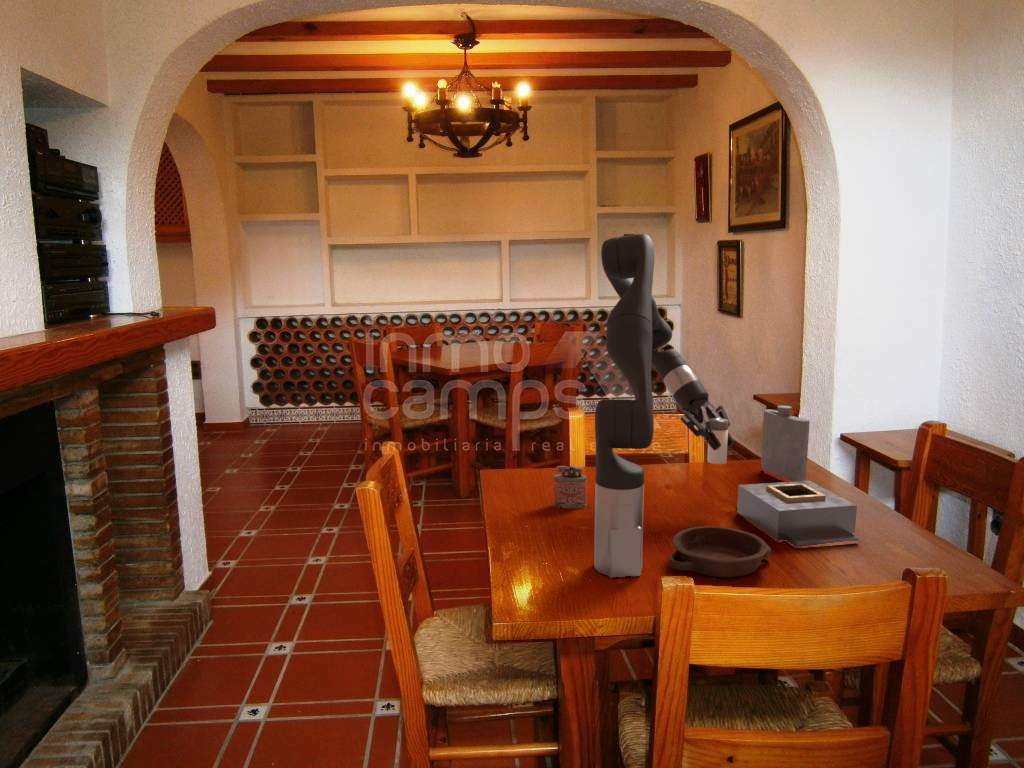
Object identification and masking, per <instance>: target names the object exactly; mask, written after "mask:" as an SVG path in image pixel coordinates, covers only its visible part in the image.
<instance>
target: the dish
mask: <svg viewBox="0 0 1024 768" xmlns="http://www.w3.org/2000/svg"><path fill="white" fill-rule="evenodd" d="M672 545H673V547H674V549H675V550H676V551H675V552H673V554H671V555H670V556H669V566H670V567H671V568H672V569H674V570H677V571H692V572H695V573H699V574H700V575H704V576H708V577H709V576H710V577H714V578H735V577H743V576H747V575H750V574H752V573H754V572H755V571H757V570H758V568H760V565H761V562H762V560H765V559H768V558H769V557H771V552H772V549H771V547H770V546H769V545H768V544H767V543H766V542H765V541H764V540H763V539H762V538H761V537H759V536H757V534H753V533H750V532H748V531H744V530H740V529H736V528H730V527H726V526H725V527H722V526H710V525H709V526H694V527H689V528H687V529H682V530H680V531H679V532H678V533H676V534H675V535H674V537H673V539H672Z"/></svg>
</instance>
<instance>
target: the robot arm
mask: <svg viewBox="0 0 1024 768" xmlns="http://www.w3.org/2000/svg"><path fill="white" fill-rule="evenodd" d="M654 248H655V247H654V243H653V240H652V238H651V237H650V236H649V235H648V234H646V233H636V234H635V233H634V234H629V235H624V236H616V237H611V238H608V239H606V240H604V241H603V243H602V244H601V250H600V251H601V252H600V256H601V265H602V269H603V271H604V274H605V276H606V278H607V279H608V281H609V282H610V284H611V286H612V288H613V289H614V291H615V292H616V294H617V295H618V297H619V300H618V301H617V303H616V304H615V305H614V307H613V308H612V310H611V311H610V313H609V315H608V318H607V322H606V333H605V334H606V336H605V337H606V338H605V346H606V347H605V348H606V351H607V353H608V356H609V357H610V359H611V360H612V363H614V365H615V367H617V369H618V370H619V371H620V373H622V375H623V376H624V378H625V380H627V382H628V384H629V387H630V389H631V391H632V392H633V396H634V399H623V398H622V399H621V398H620V399H615V398H609V399H607V398H605V399H604V398H603V399H601V400H599V401H598V402H597V404H596V407H595V411H594V434H595V476H594V477H595V479H594V480H595V482H594V485H595V486H594V487H595V492H594V493H595V495H594V543H593V544H594V545H593V546H594V549H593V550H594V551H593V552H594V554H593V555H594V557H593V558H594V559H593V562H594V564H593V567H594V569H595V570H596V571H597V572H598V573H600V574H602V575H604V574H605V575H604V576H607V575H608V577H610V578H609V579H616V578H615V577H619V578H626V577H625V576H631V577H640V575H641V576H642V570H643V545H644V544H643V543H644V542H643V539H644V538H643V537H644V503H645V502H644V500H645V499H644V498H645V496H644V495H645V471H644V469H643V467H642V466H640V465H638V464H637V463H634V462H631V461H629V460H626V459H624V458H623V457H621V456H619V455H618V454H617V453H616V452H614V449H624V450H627V449H629V450H631V449H632V450H643V449H644V450H645V449H647V448H649V447H650V446H651V445H652V442H653V440H654V439H653V438H654V432H655V431H654V429H655V426H654V425H655V424H654V421H655V420H654V404H653V390H652V389H653V388H652V387H653V386H652V367H653V368H654V369H655V371H656V372H657V374H658V375H659V377H660V379H661V380H662V381H663V383H664V386H665V387H666V389H667V391H668V392H669V394H670V396H671V397H672V398H673V400H674V401H675V403H676V404H677V407H679V409H680V411H681V412H682V413H684V414H682V416H681V417H680V421H681V422H682V423H683V424H684V425H685V426H686V428H688V429H689V431H691V433H692V434H694V436H696V437H697V438H698V437H702V438H703V439H705V441H706V442H707V444H708V443H709V445H710V446H711V447H712V449H713V450H717V449H718V448H719V447H721V443H720V442H719V440H718V439H717V437H716V436H715V434H714V433H713V432H712V430H711V428H710V426H709V419H712V418H722V419H727V420H728V428H729V427H730V426H731V422H730V420H729V417H728V416H727V413H726V410H725V408H724V407H723V406H722V405H721V404H720V405H719V406H717V407H716V406H714V405H713V404H712V403H711V402H710V401H709V393H708V391H707V390H706V387H704V385H703V384H702V383H701V381H700V379H699V377H697V375H696V374H695V373H694V371H693V370H692V369H691V368H690V367H689V365H688V364H687V362H686V361H685V360H684V358H683V356H682V355H681V353H680V352H679V351H678V350H676V349H675V348H669V349H666V350H662V351H656V350H658V349H660V348H662V347H663V346H665V345H667V344H669V343H670V341H671V340H672V338H673V331H672V329H671V326H670V325H669V324H668V322H666V320H664V319H663V318H662V316H661V315H660V312H659V309H658V306H657V302H656V300H655V298H654V296H653V295H652V293H653V282H654V281H653V280H654V270H655V249H654ZM711 432H712V433H711ZM734 444H735V439H734V438H733V436H732V435H731V433H730V432H729V431H728V442H727V448H729V447H731V446H733V445H734ZM613 577H614V578H613Z"/></svg>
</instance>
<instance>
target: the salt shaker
mask: <svg viewBox="0 0 1024 768" xmlns="http://www.w3.org/2000/svg"><path fill="white" fill-rule="evenodd" d="M709 426H710V428H711V430H712V432H713V433H714V434H715V436H716V437H717V439H718V440H719V442H720V443H721V447H719V448H718V449H717V450H713V449H712V447H711V446H710V445H709V443H708V442H707V458H706V459H707V460H706V461H707V462H708V463H709V464H713V465H724V464H726V463H727V457H728V447H727V442H728V432H729V427H728V420H727V419H722V418H712V419H709ZM712 432H711V433H712Z"/></svg>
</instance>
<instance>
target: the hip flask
mask: <svg viewBox="0 0 1024 768" xmlns="http://www.w3.org/2000/svg"><path fill="white" fill-rule="evenodd" d="M792 410H793V407H792V406H791V405H777V409H768V408H767V409H764V410H763V421H762V425H763V426H762V439H761V441H762V444H761V463H760V470H761V469H763V470H765V471H767V472H769V473H772V474H774V475H777V476H779V477H782V478H785V479H788V480H791V481H794V482H795V481H807V470H808V469H807V468H808V454H809V453H808V452H809V437H810V419H807V418H804V417H803V418H802V417H798V416H794V415H791V412H792Z"/></svg>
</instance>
